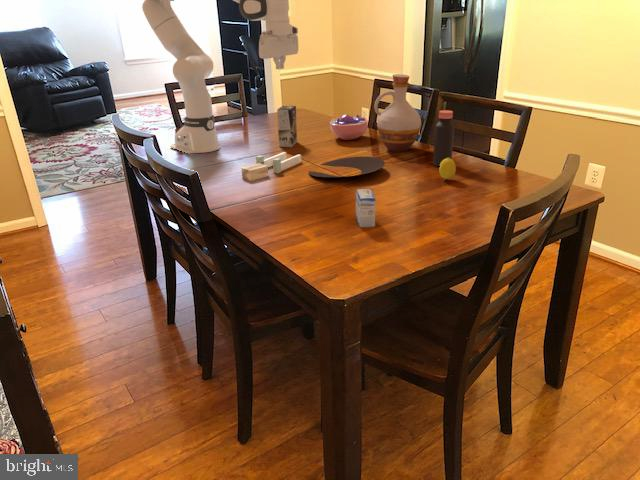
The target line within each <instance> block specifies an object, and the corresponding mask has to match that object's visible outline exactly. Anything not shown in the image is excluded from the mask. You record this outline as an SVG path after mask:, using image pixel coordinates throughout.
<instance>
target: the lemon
mask: <svg viewBox="0 0 640 480" xmlns="http://www.w3.org/2000/svg"><path fill="white" fill-rule="evenodd" d="M438 168H439V169H438V172H439V175H440V176H441V178H442V179H444V180H445V179H448V180H449V179H451V178H452V177H454V176H455V174H456V170H457V166H456V163H455V161H454V160H453V158H452V159H450V158H446V159H444V160H443V161H442V162H441V163H440V167H438Z"/></svg>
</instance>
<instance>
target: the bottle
mask: <svg viewBox="0 0 640 480" xmlns="http://www.w3.org/2000/svg"><path fill="white" fill-rule="evenodd" d="M453 115H454V111H453V110H449V109H448V110H444V109H443V110H439V112H438V119H439V121H438V122H437V123H435V129H434V130H435V131H434V140H433V141H434V145H433V159H432V166H434V165H435V166H434V167H437V166H440V163H441V162H442V161H443V160H444V159H446V158H450V159H452V160H453V147H454V134H455V124H454V123H453V122H452V120H453Z"/></svg>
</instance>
